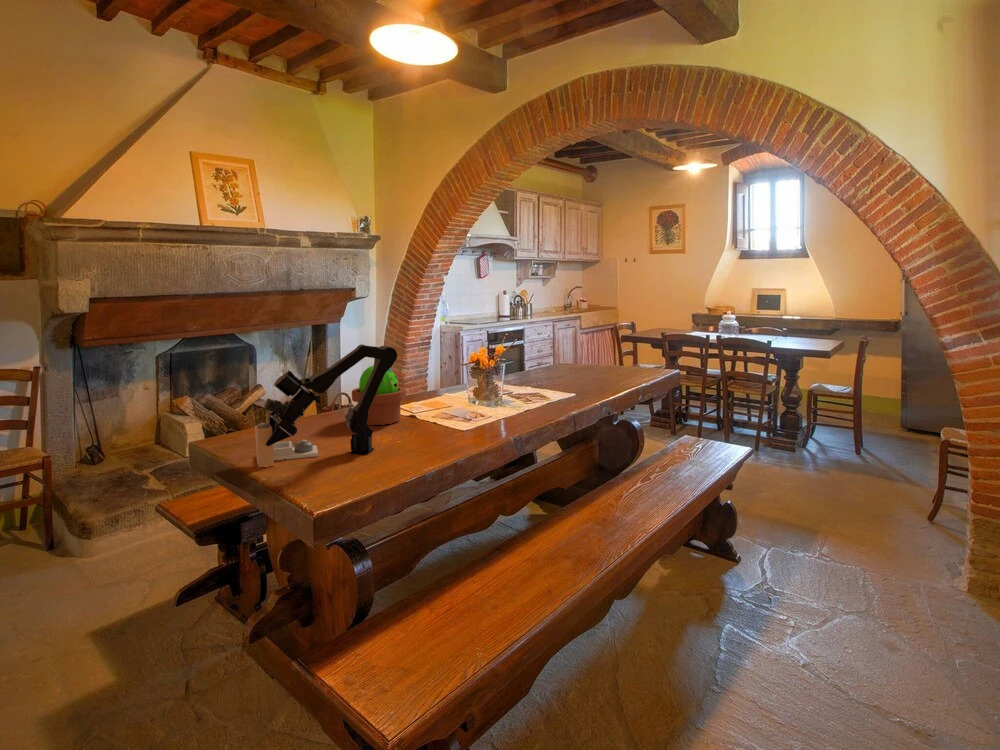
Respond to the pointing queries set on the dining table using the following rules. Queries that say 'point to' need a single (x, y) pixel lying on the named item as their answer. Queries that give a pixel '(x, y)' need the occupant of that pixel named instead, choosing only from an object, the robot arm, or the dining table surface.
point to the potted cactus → (382, 398)
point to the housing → (294, 450)
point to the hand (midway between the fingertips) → (264, 441)
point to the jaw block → (264, 445)
